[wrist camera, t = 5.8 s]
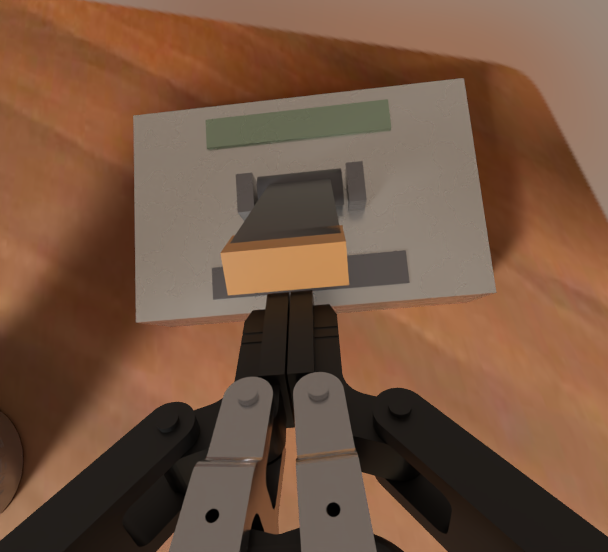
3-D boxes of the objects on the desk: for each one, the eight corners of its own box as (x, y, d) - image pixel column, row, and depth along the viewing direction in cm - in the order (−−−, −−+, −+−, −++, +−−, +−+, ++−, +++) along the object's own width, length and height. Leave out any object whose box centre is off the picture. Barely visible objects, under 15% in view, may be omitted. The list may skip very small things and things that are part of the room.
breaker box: (171, 326, 33) (120, 320, 25) (167, 154, 35) (118, 99, 28) (466, 302, 32) (509, 288, 24) (442, 124, 34) (473, 57, 26)
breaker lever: (264, 209, 28) (211, 308, 14) (259, 174, 27) (198, 242, 13) (342, 201, 28) (369, 294, 14) (339, 166, 27) (365, 226, 13)
